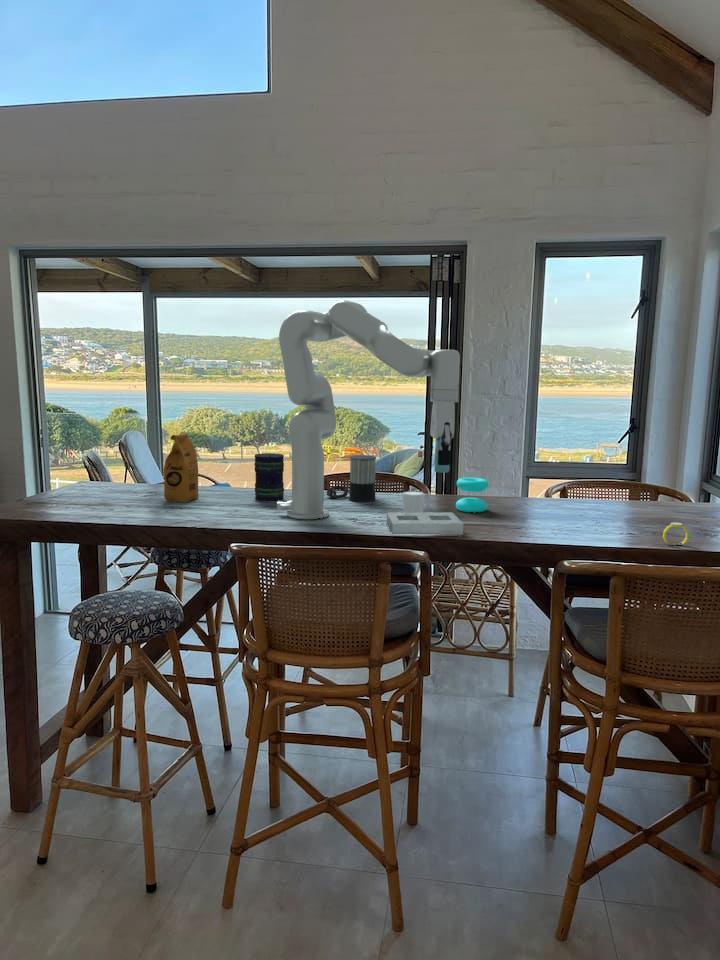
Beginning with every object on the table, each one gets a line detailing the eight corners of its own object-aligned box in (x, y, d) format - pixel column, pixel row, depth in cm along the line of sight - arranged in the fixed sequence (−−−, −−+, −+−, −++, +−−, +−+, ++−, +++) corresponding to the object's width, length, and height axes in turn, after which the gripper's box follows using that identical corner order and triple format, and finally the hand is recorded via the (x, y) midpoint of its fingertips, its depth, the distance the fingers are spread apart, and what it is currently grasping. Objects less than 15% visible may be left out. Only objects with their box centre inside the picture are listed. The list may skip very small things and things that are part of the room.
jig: (392, 536, 179) (392, 523, 178) (386, 524, 192) (386, 512, 192) (462, 536, 180) (463, 523, 180) (451, 524, 194) (452, 512, 193)
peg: (435, 472, 182) (437, 435, 180) (433, 470, 186) (434, 434, 184) (450, 472, 182) (451, 435, 180) (447, 470, 186) (448, 434, 184)
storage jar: (254, 496, 231) (253, 453, 229) (283, 495, 233) (282, 453, 230) (255, 502, 221) (254, 457, 219) (285, 501, 223) (285, 456, 221)
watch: (664, 547, 173) (665, 524, 172) (661, 544, 176) (661, 522, 175) (689, 547, 172) (689, 524, 172) (685, 544, 175) (686, 521, 174)
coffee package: (159, 502, 219) (156, 434, 215) (175, 495, 231) (173, 431, 227) (188, 503, 217) (186, 435, 214) (203, 496, 229) (201, 432, 226)
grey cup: (423, 518, 201) (423, 495, 200) (400, 517, 202) (400, 494, 201) (425, 513, 208) (426, 491, 206) (403, 512, 209) (404, 490, 208)
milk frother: (379, 502, 225) (380, 458, 223) (333, 503, 221) (333, 459, 219) (367, 494, 239) (368, 452, 236) (324, 495, 235) (324, 453, 232)
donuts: (454, 476, 218) (485, 476, 218) (453, 506, 219) (483, 507, 219) (459, 481, 208) (491, 482, 208) (458, 513, 209) (490, 513, 209)
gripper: (425, 395, 189) (423, 459, 191) (436, 397, 172) (434, 468, 175) (451, 395, 189) (449, 459, 192) (465, 397, 173) (462, 468, 176)
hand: (442, 463), depth 184 cm, fingers closed on peg, 4 cm apart
